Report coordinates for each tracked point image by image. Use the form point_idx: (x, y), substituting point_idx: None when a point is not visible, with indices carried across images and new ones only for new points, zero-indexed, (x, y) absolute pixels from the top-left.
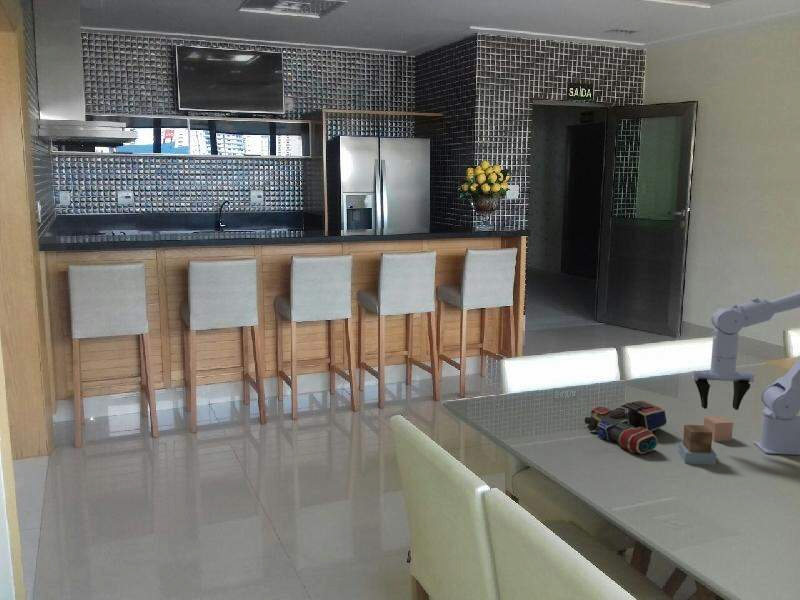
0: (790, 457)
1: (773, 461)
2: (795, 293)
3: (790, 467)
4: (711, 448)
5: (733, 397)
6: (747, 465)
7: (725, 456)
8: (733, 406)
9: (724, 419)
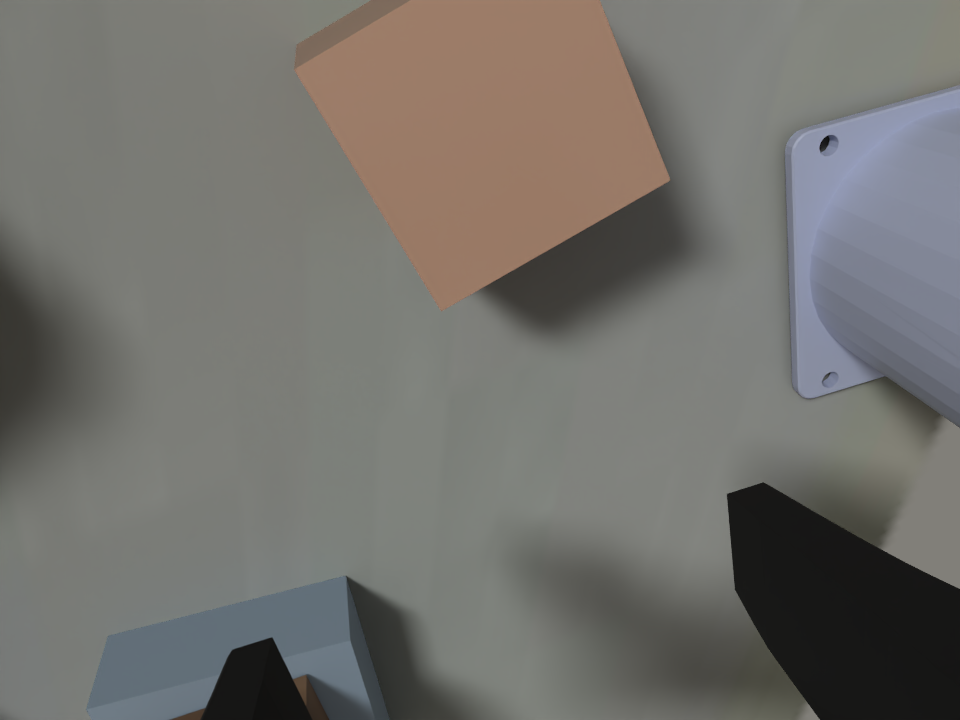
0: None
1: None
2: None
3: None
4: (369, 713)
5: (833, 592)
6: (598, 647)
7: (475, 560)
8: (741, 538)
9: (582, 73)
